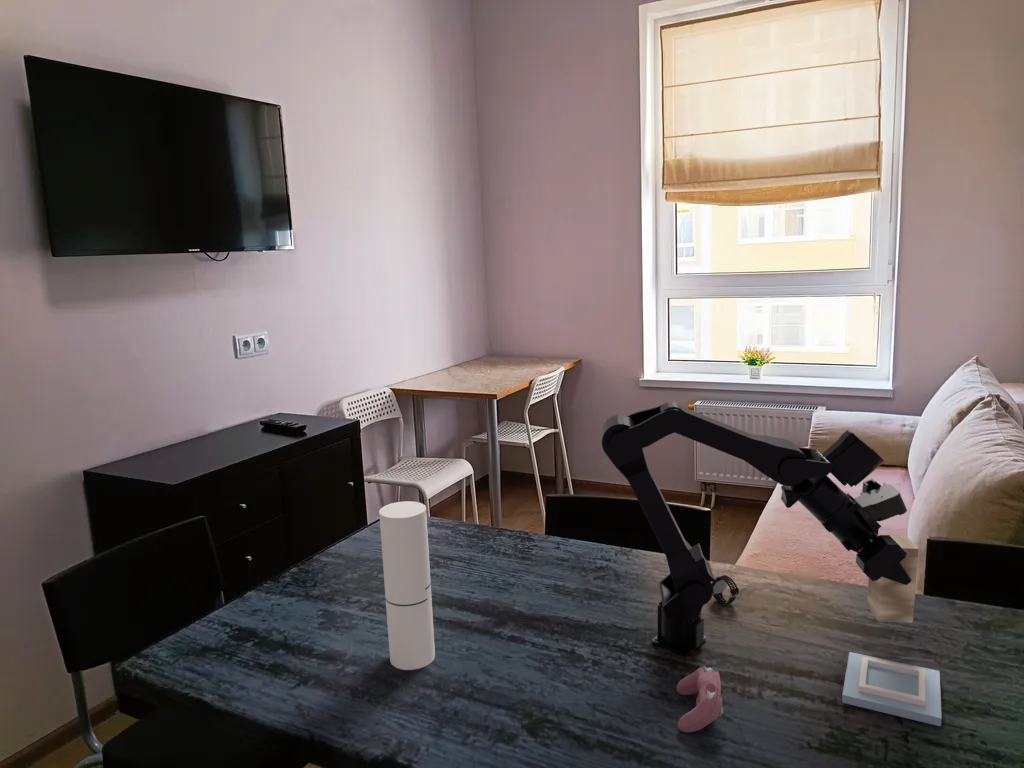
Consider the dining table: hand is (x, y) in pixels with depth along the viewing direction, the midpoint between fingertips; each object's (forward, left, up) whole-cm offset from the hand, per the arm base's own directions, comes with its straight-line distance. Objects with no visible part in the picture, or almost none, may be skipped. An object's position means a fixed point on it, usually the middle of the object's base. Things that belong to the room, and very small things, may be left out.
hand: (901, 574), depth 114 cm
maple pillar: (-1, -1, -7) cm, 7 cm away
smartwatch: (-28, -3, -13) cm, 31 cm away
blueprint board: (+2, -12, -12) cm, 17 cm away
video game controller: (-16, -34, -13) cm, 39 cm away
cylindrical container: (-59, -49, -13) cm, 77 cm away
